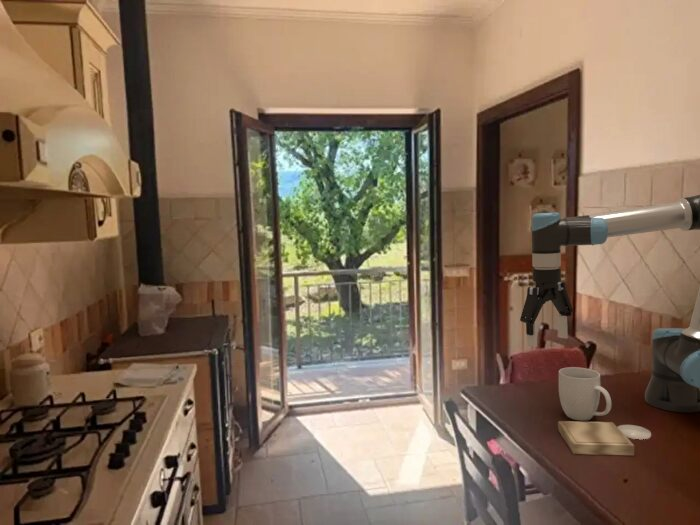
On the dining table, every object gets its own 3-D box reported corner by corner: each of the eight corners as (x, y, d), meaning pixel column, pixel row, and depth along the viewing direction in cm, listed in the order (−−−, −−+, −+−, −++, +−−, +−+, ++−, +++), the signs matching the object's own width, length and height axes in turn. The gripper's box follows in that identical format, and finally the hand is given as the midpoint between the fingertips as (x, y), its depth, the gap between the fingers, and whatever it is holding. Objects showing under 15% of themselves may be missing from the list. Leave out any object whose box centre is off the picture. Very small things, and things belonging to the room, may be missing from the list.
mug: (621, 422, 144) (621, 376, 143) (598, 432, 138) (599, 385, 137) (572, 406, 156) (572, 364, 155) (550, 415, 150) (550, 371, 149)
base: (612, 431, 138) (612, 421, 138) (634, 455, 125) (634, 444, 124) (558, 430, 140) (558, 420, 140) (573, 453, 126) (573, 443, 126)
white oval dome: (643, 428, 140) (643, 424, 140) (656, 441, 132) (656, 437, 132) (612, 427, 141) (612, 424, 141) (623, 440, 133) (623, 437, 133)
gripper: (562, 262, 154) (563, 332, 156) (505, 271, 141) (507, 347, 143) (585, 264, 148) (586, 336, 150) (528, 273, 135) (530, 352, 137)
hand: (547, 341), depth 146 cm, fingers open, 13 cm apart
